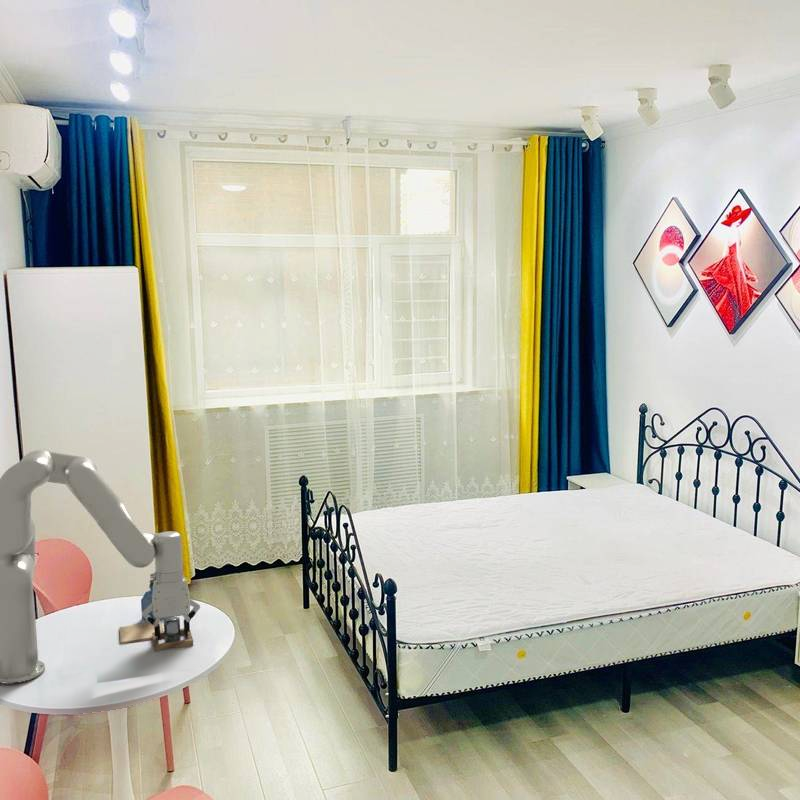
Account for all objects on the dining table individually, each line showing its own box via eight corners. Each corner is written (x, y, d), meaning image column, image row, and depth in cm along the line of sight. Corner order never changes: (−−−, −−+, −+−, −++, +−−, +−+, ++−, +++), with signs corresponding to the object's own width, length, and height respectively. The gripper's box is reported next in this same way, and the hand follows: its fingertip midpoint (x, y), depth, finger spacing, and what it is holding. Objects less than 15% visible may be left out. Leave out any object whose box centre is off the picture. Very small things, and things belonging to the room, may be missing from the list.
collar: (154, 651, 224) (154, 646, 224) (152, 637, 234) (152, 632, 234) (193, 645, 228) (193, 640, 228) (189, 632, 237) (189, 627, 237)
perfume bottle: (171, 616, 250) (169, 579, 249) (155, 623, 245) (153, 585, 244) (157, 613, 254) (155, 576, 252) (142, 619, 248) (140, 581, 247)
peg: (165, 645, 228) (164, 623, 227) (164, 640, 232) (163, 618, 231) (181, 643, 229) (180, 621, 229) (179, 637, 234) (178, 615, 233)
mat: (120, 644, 230) (120, 641, 230) (119, 629, 241) (119, 627, 241) (164, 637, 234) (164, 635, 234) (161, 623, 245) (161, 621, 245)
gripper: (138, 583, 222) (141, 646, 224) (202, 575, 228) (205, 636, 230) (136, 575, 229) (140, 636, 231) (199, 568, 235) (201, 627, 237)
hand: (172, 635), depth 231 cm, fingers closed on collar, 6 cm apart
